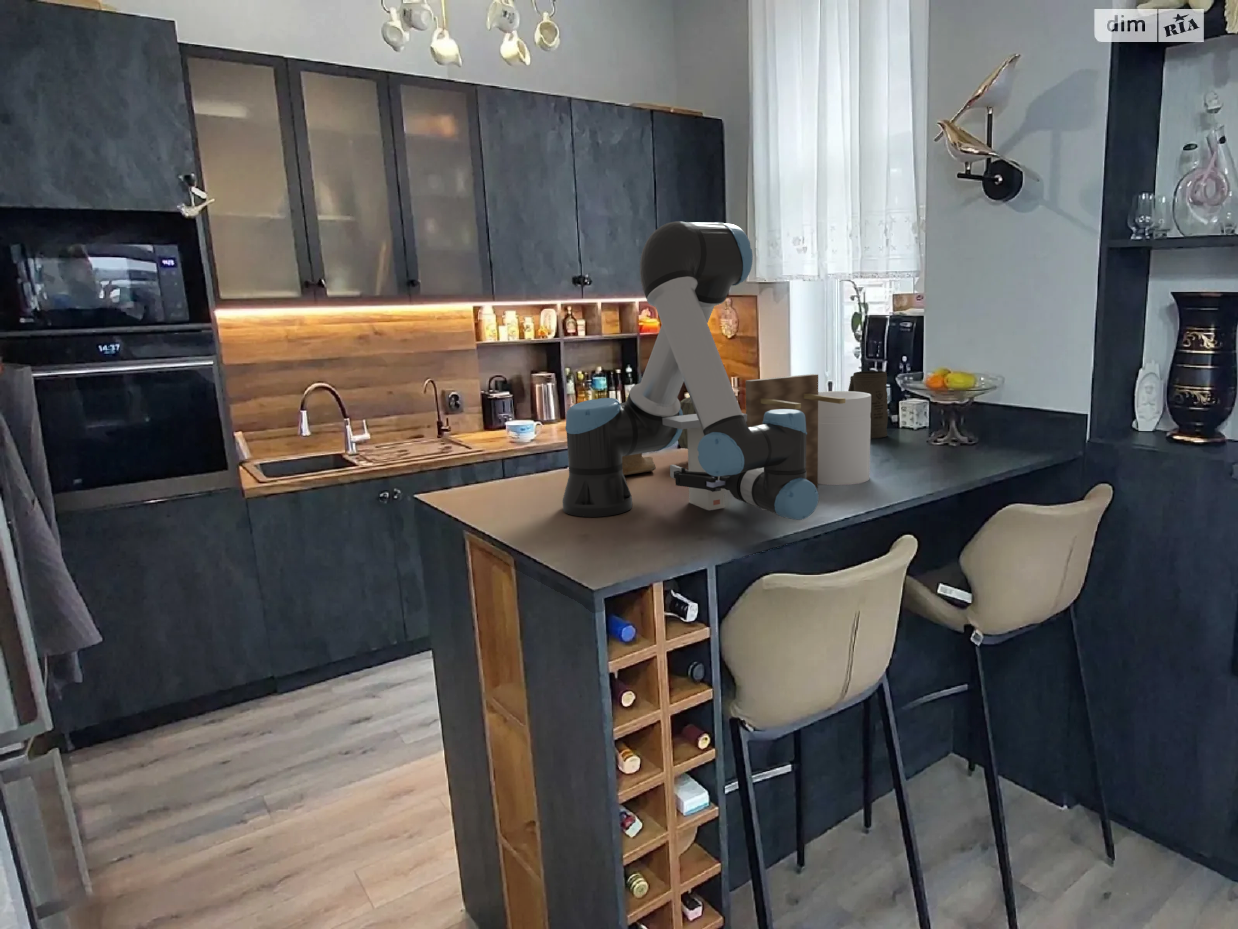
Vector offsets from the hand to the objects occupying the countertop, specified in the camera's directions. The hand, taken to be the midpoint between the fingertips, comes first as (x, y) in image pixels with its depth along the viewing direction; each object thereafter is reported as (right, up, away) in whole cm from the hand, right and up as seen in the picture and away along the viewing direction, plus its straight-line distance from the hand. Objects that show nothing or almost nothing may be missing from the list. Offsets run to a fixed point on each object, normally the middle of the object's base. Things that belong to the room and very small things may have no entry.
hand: (698, 466), depth 175 cm
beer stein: (+58, +10, +74) cm, 95 cm away
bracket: (+21, -6, +3) cm, 23 cm away
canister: (+35, -3, +19) cm, 40 cm away
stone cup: (-14, -2, +33) cm, 36 cm away
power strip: (+2, -8, -1) cm, 9 cm away
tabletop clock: (+6, +1, +45) cm, 46 cm away
